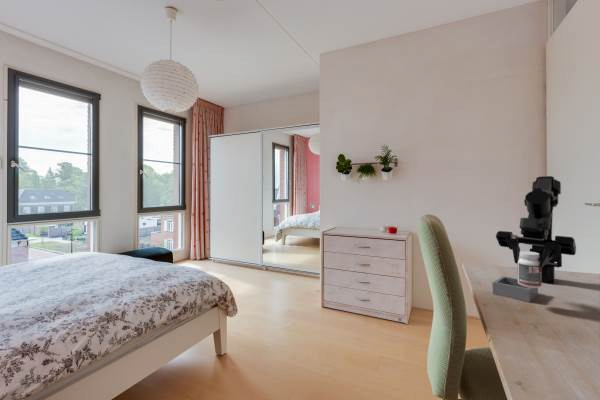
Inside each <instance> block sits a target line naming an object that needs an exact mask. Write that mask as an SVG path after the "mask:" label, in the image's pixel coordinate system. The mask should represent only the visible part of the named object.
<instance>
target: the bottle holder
mask: <svg viewBox="0 0 600 400" xmlns="http://www.w3.org/2000/svg"><path fill="white" fill-rule="evenodd" d="M492 294H493V295H496V296H501V297H504V298H509V297H510V298H509V299H513V298H514V300H517V299H518V301H522V302H527V303H531V301H533V300H534V299H535V298H536V297H537V296H538V295H539V288H530V287H525V286H522V285H520V284H518V278H514V277H509V276H505V275H502V276H500V277H498V278H497V279H495V280H493V282H492Z"/></svg>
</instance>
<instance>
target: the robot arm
mask: <svg viewBox="0 0 600 400" xmlns="http://www.w3.org/2000/svg"><path fill="white" fill-rule="evenodd" d="M531 186H532V191H529V192H528V193H526V195H525V198H524V203H523V204H524V206H526V211H527V213H528V214H527V215H528V216H527V217H521V218H520V221H519V229H520V235H522V236H518V235H517V234H514V233H513V231H507V230H506V231H505V230H499V231H497V232H496V235H495V238H496V240H497V243H498V245H499V246H500V247H502V248H503V247H504V248H508V249H509V250H512V254H513V261H514V264H515V265H516V264H517V262H518V260H519V259H520V252H521V248H520V246H519V245H520V244H524V245H530V246H531V248H529V251H530V252H536V253H539V259H538V260H539V261H540V267H542V283H546V284H551V285H555V284H556V282H558V278H556V277H555V268H558V269H559V268H562V267H563V265H562V264H563V259H562V257H563V255H567V256H575V255H576V252H577V245H576V242H575V238H574V237H573V236H563V235H555V236H554V240H553V218H554V217H553V216H554V215H553V214H554V213H553V211H554V208H556V207H557V205H558V204H559V195H561V194H562V185H561V181H559V180H558V179H555V177H554V176H551V175H550V176H549V175H548V176H544V175H543V176H537V177H536V180H534V181H533V182H532V184H531Z"/></svg>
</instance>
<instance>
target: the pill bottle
mask: <svg viewBox="0 0 600 400" xmlns="http://www.w3.org/2000/svg"><path fill="white" fill-rule="evenodd" d="M538 259H539V253H536V252H530V250H529V251H527V250H522V251H520V254H519V259H518V262H517V279H518V284H520V285H522V286H525V287H530V288H538V289H539V288H541V287H542V286H543V284H542V283H543V282H542V267H540V261H539V260H538Z"/></svg>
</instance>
